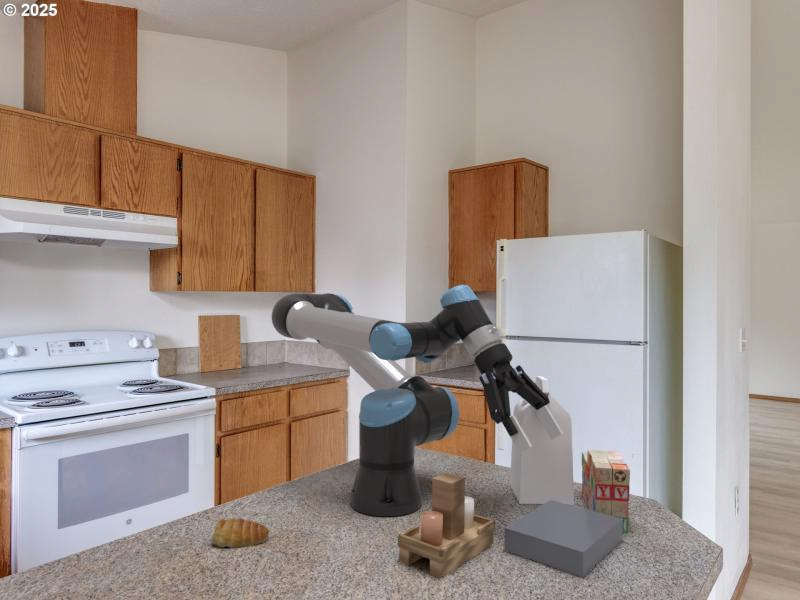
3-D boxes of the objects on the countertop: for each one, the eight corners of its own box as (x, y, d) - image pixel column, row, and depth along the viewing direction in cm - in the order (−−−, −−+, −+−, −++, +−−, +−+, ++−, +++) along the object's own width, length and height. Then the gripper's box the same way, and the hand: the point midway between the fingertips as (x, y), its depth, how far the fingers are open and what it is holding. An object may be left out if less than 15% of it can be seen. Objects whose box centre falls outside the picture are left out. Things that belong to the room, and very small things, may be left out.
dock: (504, 550, 98) (504, 527, 98) (550, 520, 112) (550, 499, 112) (582, 577, 89) (583, 552, 89) (622, 540, 103) (622, 518, 103)
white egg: (449, 525, 100) (449, 499, 100) (460, 519, 103) (461, 494, 103) (466, 530, 98) (466, 504, 98) (477, 524, 101) (477, 499, 101)
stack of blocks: (581, 492, 128) (582, 438, 128) (610, 494, 127) (611, 440, 127) (594, 530, 107) (595, 466, 107) (629, 534, 106) (630, 468, 106)
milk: (574, 504, 120) (575, 382, 120) (519, 503, 120) (521, 381, 120) (559, 486, 132) (560, 374, 132) (509, 485, 132) (511, 373, 132)
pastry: (270, 533, 105) (271, 512, 105) (265, 549, 98) (265, 527, 98) (218, 534, 104) (219, 513, 104) (209, 550, 97) (210, 528, 97)
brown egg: (416, 542, 93) (416, 515, 93) (429, 535, 96) (429, 509, 96) (433, 548, 91) (434, 521, 91) (446, 541, 94) (447, 514, 94)
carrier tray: (441, 579, 88) (442, 496, 88) (397, 561, 94) (398, 483, 94) (494, 545, 100) (495, 472, 100) (452, 531, 106) (453, 462, 106)
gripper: (467, 344, 107) (526, 447, 99) (529, 338, 126) (582, 423, 118) (441, 365, 111) (495, 465, 103) (505, 355, 130) (555, 439, 122)
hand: (542, 443), depth 111 cm, fingers open, 13 cm apart
